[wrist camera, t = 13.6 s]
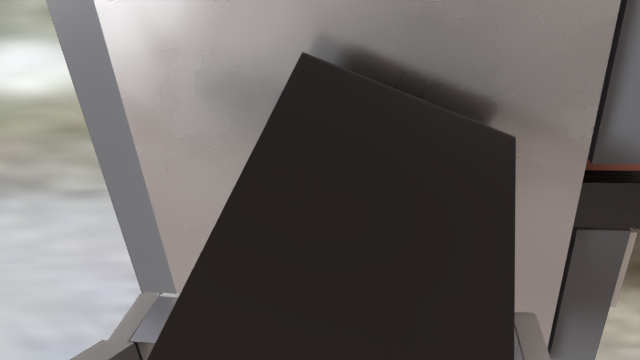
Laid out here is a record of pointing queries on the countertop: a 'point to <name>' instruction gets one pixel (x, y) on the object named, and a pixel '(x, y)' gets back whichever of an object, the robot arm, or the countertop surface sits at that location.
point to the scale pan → (387, 68)
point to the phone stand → (357, 235)
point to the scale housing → (586, 242)
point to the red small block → (612, 167)
